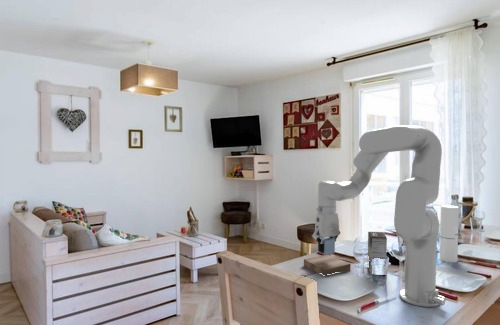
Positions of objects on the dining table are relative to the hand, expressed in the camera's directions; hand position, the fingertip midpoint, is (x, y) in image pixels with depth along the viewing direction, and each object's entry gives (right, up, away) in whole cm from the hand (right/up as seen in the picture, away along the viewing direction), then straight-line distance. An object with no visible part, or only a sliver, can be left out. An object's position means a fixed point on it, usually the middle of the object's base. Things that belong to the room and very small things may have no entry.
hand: (326, 250), depth 146 cm
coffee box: (+20, -8, -4) cm, 22 cm away
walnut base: (0, -8, 0) cm, 8 cm away
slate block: (0, -1, 0) cm, 1 cm away
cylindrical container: (+59, -7, +10) cm, 60 cm away
